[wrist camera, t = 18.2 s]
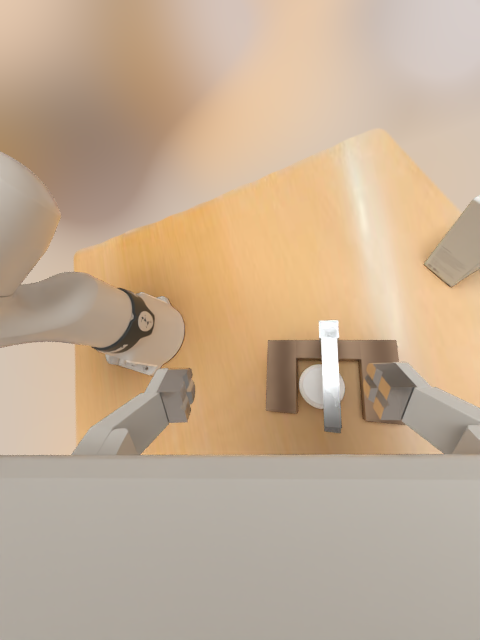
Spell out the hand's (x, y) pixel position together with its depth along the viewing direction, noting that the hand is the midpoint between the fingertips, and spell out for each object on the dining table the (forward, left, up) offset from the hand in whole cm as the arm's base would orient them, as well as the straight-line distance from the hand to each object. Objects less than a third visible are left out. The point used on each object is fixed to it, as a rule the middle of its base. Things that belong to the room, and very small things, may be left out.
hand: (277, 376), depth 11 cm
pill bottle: (+2, 0, -33) cm, 33 cm away
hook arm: (+3, +1, -32) cm, 32 cm away
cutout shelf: (+3, +1, -32) cm, 32 cm away
